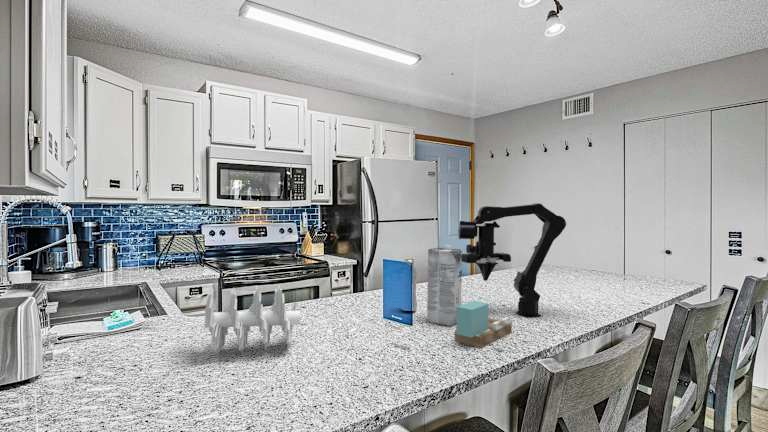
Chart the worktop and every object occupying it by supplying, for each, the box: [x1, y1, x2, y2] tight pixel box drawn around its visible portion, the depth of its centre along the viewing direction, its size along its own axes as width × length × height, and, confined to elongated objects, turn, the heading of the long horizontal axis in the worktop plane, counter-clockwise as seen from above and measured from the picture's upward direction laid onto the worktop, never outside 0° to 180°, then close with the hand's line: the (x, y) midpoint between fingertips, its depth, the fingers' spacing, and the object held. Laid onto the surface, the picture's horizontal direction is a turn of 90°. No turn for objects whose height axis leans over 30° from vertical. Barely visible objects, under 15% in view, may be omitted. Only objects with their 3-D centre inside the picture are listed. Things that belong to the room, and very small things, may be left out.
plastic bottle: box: [404, 258, 419, 312], centre depth 152 cm, size 6×7×20 cm
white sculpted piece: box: [204, 284, 301, 356], centre depth 111 cm, size 18×18×25 cm
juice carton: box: [426, 244, 463, 327], centre depth 138 cm, size 9×10×27 cm
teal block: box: [455, 300, 490, 338], centre depth 119 cm, size 10×5×8 cm, turn 137°
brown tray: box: [454, 316, 513, 349], centre depth 124 cm, size 20×9×5 cm, turn 137°
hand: (485, 280), depth 150 cm, fingers closed
